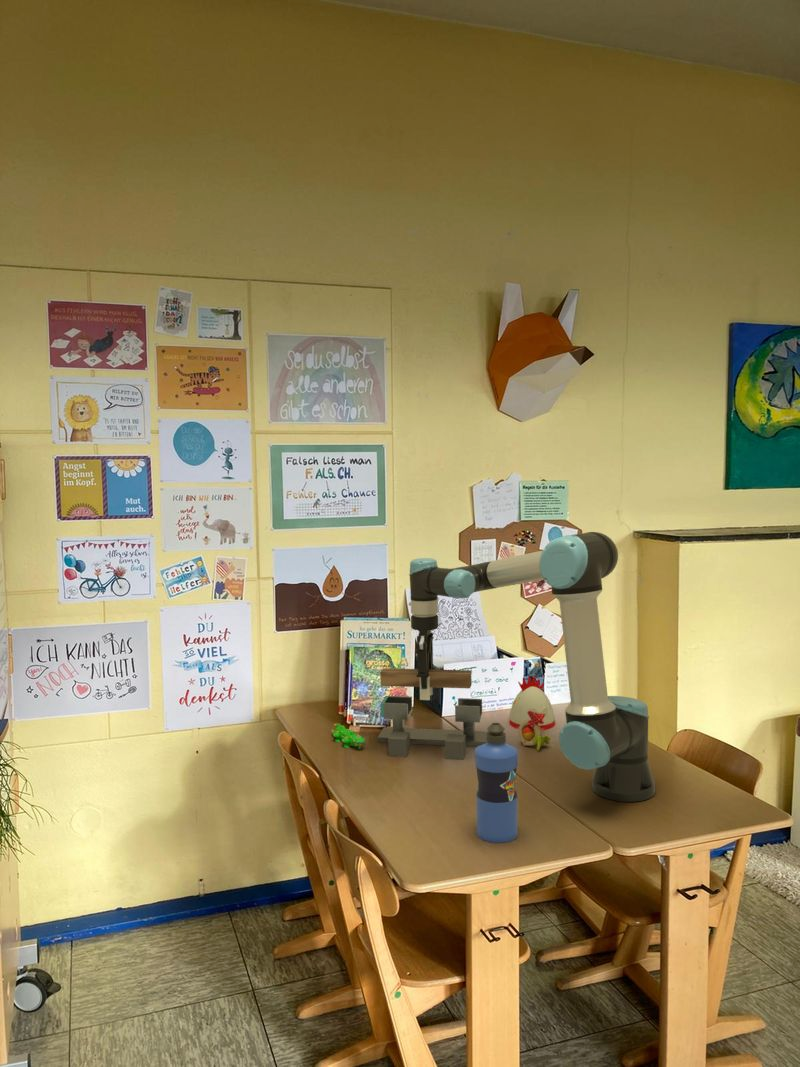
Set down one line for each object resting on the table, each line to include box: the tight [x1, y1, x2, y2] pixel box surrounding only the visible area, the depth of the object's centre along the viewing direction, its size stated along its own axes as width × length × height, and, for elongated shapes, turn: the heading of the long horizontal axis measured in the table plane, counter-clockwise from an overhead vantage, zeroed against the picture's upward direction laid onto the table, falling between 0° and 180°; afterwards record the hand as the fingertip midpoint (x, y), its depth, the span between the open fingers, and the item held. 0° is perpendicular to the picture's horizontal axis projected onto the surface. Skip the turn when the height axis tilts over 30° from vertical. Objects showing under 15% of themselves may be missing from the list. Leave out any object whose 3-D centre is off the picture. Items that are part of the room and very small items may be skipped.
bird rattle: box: [518, 711, 551, 752], centre depth 237 cm, size 6×11×9 cm
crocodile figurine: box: [331, 723, 366, 750], centre depth 245 cm, size 7×18×4 cm, turn 31°
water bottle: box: [474, 722, 519, 844], centre depth 183 cm, size 9×9×25 cm
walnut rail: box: [379, 667, 473, 689], centre depth 232 cm, size 4×25×4 cm, turn 79°
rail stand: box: [376, 695, 489, 748], centre depth 245 cm, size 9×32×12 cm, turn 79°
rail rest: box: [387, 732, 467, 761], centre depth 234 cm, size 6×21×5 cm, turn 79°
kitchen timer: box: [508, 675, 556, 732], centre depth 257 cm, size 14×14×15 cm
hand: (426, 696), depth 232 cm, fingers closed on walnut rail, 4 cm apart
